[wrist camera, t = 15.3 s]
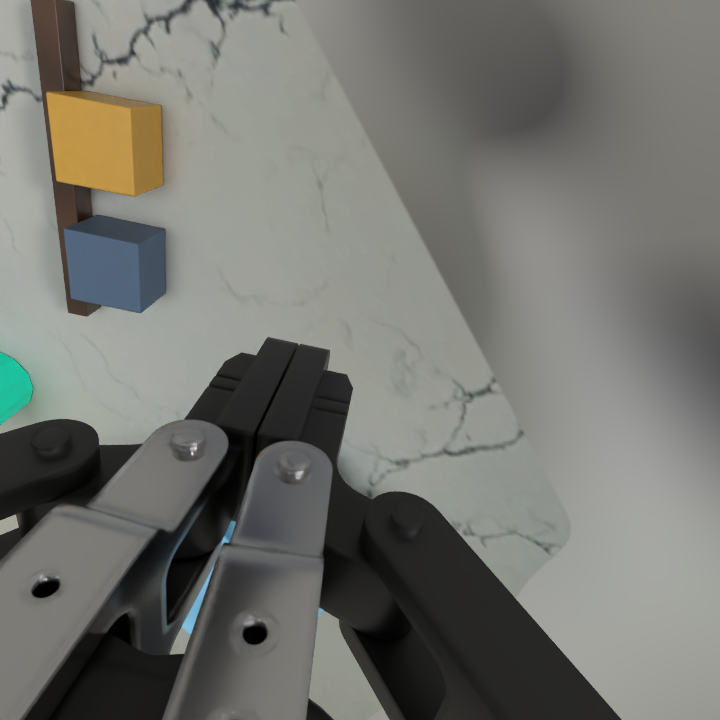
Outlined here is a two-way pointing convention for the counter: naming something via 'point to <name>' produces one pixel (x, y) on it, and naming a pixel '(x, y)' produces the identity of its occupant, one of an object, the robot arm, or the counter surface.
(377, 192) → the counter surface
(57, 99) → the ochre block
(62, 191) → the straightedge
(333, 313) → the counter surface
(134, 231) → the slate block
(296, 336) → the counter surface
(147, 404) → the counter surface
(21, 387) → the candle
